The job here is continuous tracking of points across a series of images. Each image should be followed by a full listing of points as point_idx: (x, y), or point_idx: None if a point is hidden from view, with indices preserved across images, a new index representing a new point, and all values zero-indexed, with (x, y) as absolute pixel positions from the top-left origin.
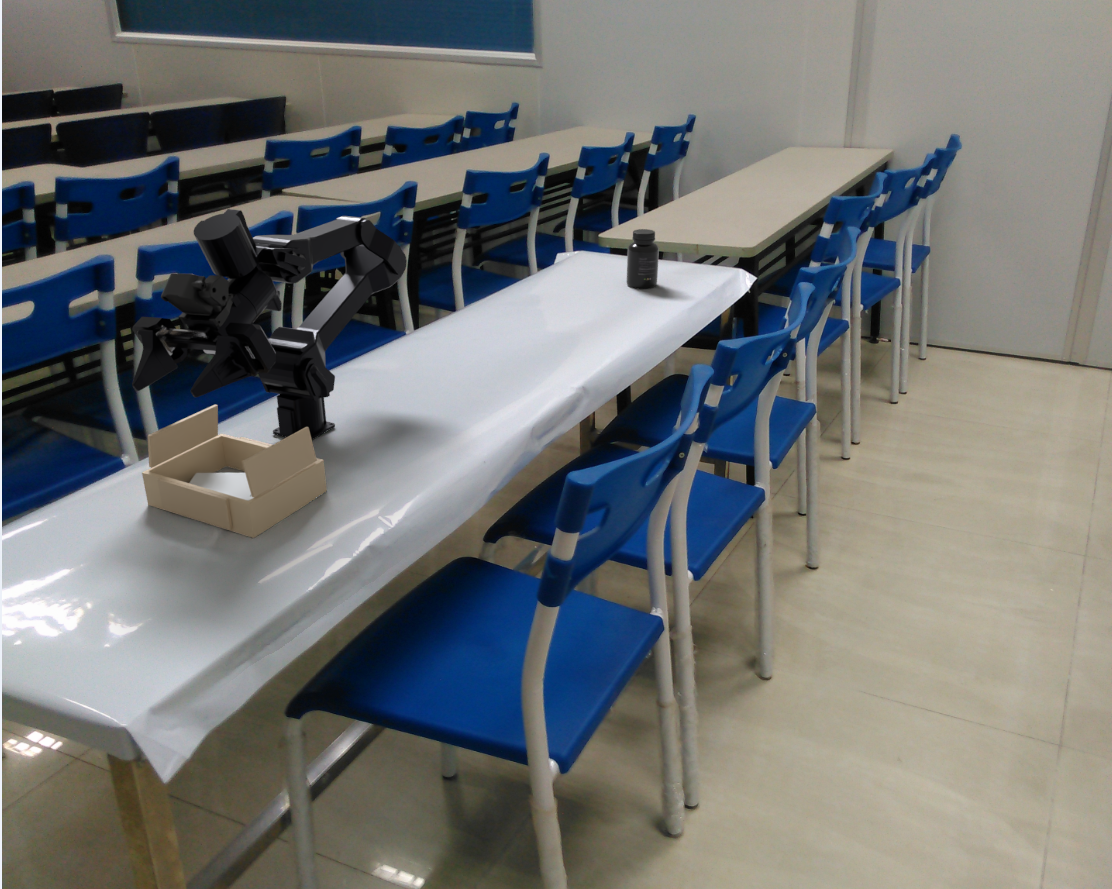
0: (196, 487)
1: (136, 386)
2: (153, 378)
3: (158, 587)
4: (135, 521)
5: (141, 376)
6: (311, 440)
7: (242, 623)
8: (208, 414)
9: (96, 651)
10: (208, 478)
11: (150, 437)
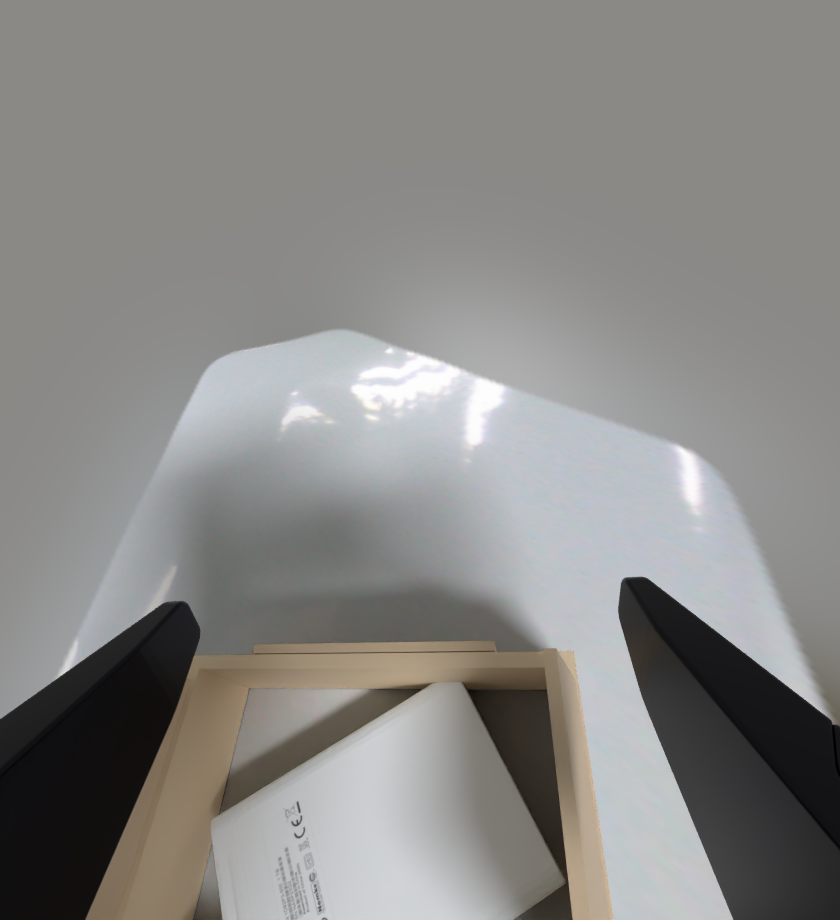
0: (360, 658)
1: (622, 596)
2: (685, 777)
3: (313, 483)
4: (521, 602)
5: (651, 639)
6: None
7: (163, 489)
8: None
9: (298, 383)
10: (487, 851)
11: (543, 652)
